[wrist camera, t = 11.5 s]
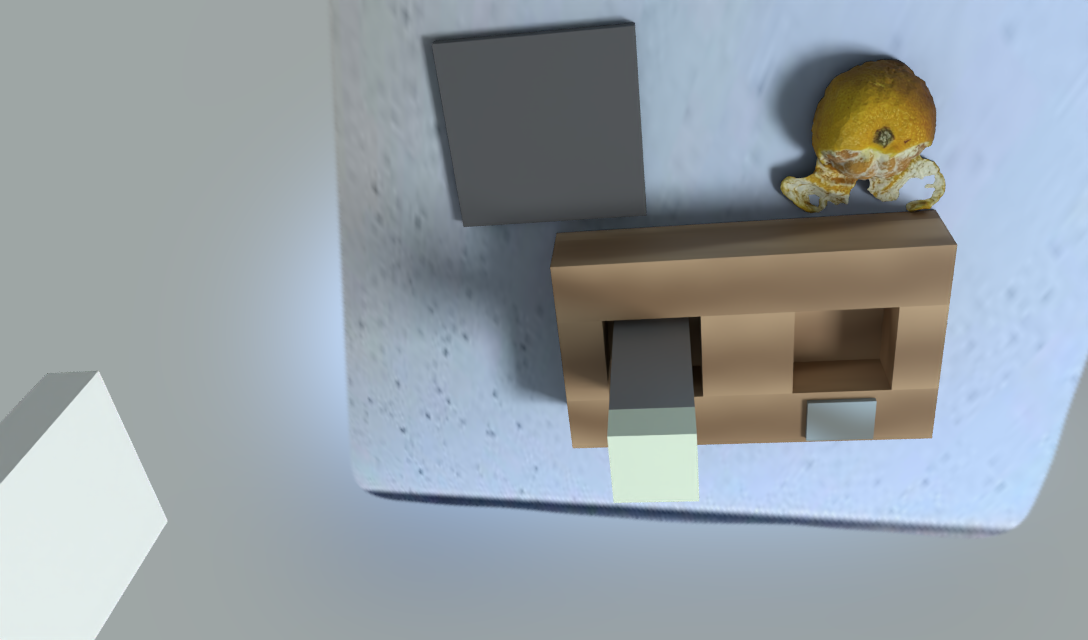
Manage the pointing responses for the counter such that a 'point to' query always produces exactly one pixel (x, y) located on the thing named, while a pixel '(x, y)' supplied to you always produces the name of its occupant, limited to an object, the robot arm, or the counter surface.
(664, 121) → the counter surface
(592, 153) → the mat
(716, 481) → the counter surface
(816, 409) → the socket block
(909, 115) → the fruit
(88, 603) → the robot arm
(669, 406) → the plug
